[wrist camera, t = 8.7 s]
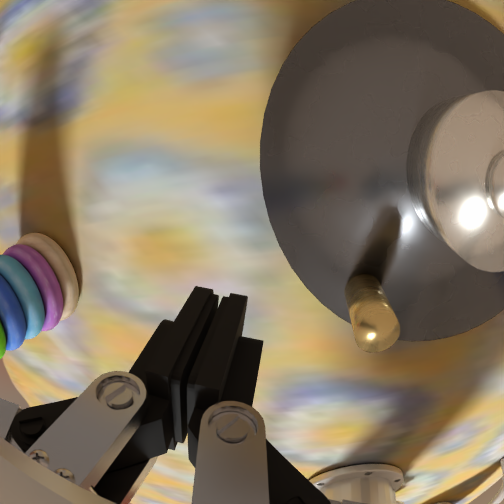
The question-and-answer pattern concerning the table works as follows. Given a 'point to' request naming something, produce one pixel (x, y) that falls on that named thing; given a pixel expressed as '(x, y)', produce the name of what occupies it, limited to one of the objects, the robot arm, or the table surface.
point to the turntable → (375, 166)
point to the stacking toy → (34, 289)
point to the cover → (462, 176)
